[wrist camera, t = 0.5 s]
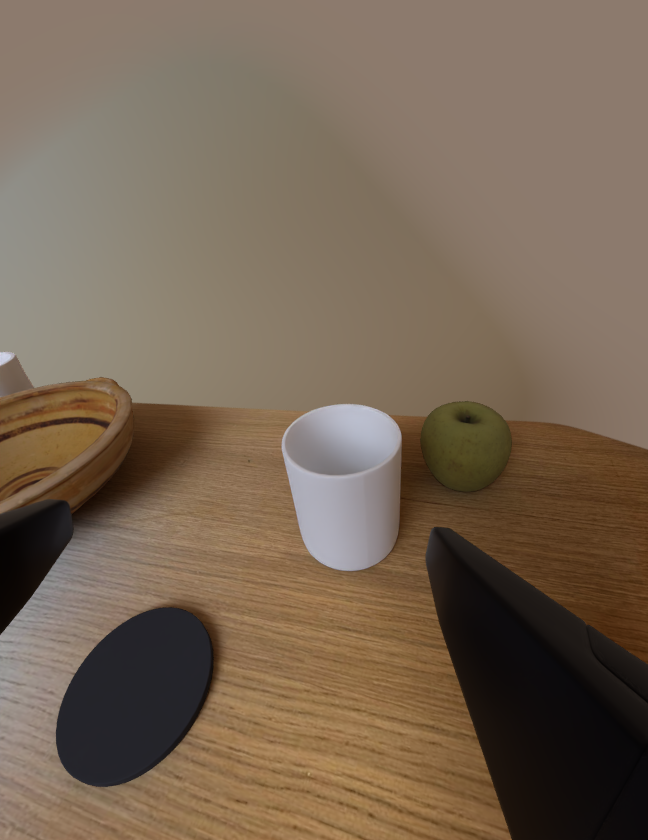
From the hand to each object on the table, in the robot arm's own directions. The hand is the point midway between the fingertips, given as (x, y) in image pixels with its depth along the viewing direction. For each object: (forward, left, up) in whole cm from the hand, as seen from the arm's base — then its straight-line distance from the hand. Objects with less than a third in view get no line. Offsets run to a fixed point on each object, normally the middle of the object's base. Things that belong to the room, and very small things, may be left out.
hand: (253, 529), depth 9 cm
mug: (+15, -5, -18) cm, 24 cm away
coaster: (+5, +11, -18) cm, 22 cm away
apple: (+17, -16, -18) cm, 29 cm away
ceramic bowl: (+25, +27, -18) cm, 41 cm away
